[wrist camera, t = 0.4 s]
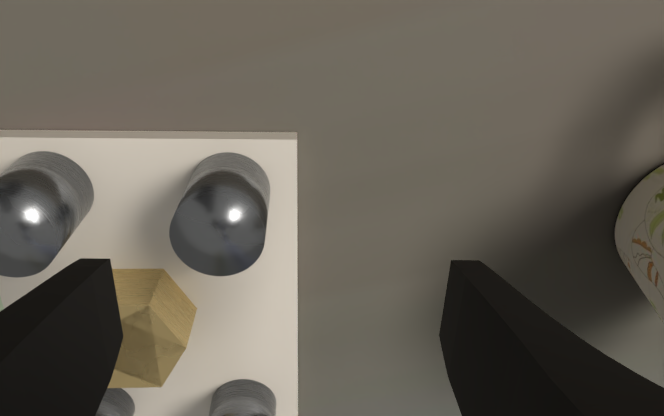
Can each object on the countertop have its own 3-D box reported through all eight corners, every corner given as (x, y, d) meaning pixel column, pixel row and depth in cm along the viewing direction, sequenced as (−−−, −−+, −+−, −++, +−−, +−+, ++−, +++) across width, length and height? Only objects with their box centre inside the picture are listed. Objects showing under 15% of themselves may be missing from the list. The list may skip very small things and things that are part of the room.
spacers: (277, 431, 27) (273, 499, 23) (-33, 438, 26) (-79, 509, 23) (269, 139, 20) (262, 179, 17) (-154, 135, 19) (-245, 178, 16)
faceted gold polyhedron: (201, 345, 24) (191, 386, 22) (92, 346, 24) (71, 388, 21) (192, 268, 22) (181, 305, 20) (75, 268, 22) (50, 306, 20)
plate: (298, 418, 27) (297, 432, 27) (-35, 425, 26) (-45, 439, 26) (296, 132, 20) (296, 139, 20) (-153, 128, 20) (-170, 136, 19)
